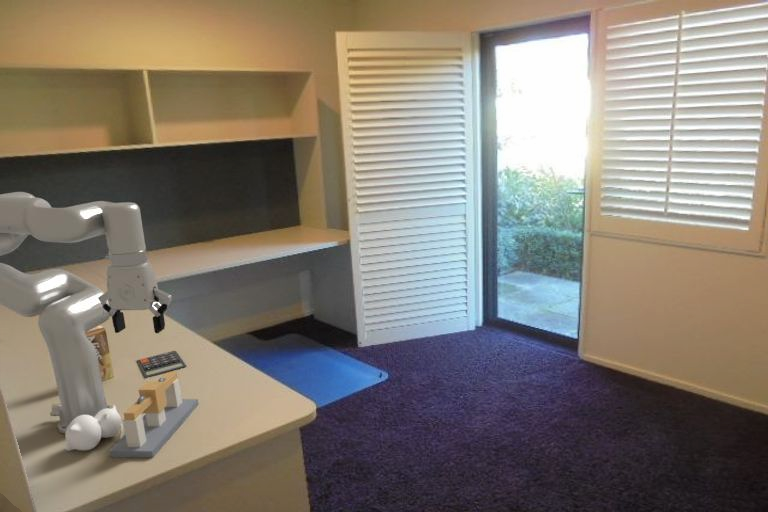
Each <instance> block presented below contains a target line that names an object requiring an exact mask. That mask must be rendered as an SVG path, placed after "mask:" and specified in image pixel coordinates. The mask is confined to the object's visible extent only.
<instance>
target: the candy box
mask: <svg viewBox="0 0 768 512" xmlns="http://www.w3.org/2000/svg"><path fill="white" fill-rule="evenodd" d="M85 335H86V337H87V338H88V340H89V341H90V342H91V343H92V344H93V345H94V347H95V349H96V353H97V357H98V362H99V367H100V373H101V378H102V382H103V381H106V380H109V379H112V378H115V373H114V368H113V362H112V358H111V350H110V346H109V340H108V336H107V335H108V334H107V329H106V328H105V326H102V325H99V326H97V327H95V328H93V329H91V330H89V331H87V332H86V333H85Z"/></svg>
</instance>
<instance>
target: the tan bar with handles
mask: <svg viewBox="0 0 768 512" xmlns="http://www.w3.org/2000/svg"><path fill="white" fill-rule="evenodd" d="M178 377H179V376H178V372H177V371H171V372H167V373H165V374H164V375H163V376H162V377H160V378H158V381H147V382H145V384H143V385H142V386H141V387H140V388H139V389H138V392H139V393H138V395H139V397H138V399H137V400H135V402H134V403H133V404H132V405H130V406H129V408H128V409H126V410H125V411H124V412H123V416H124V417H123V418H124V419H125V420H135V419H136V418H137V417H138V416H140V415H143V414H146V413H160V412H161V411H162V410H163V409H164V408H165V407H166V406H167V400H166V394H165V391H166V389H167V388H168V387H169V386H170V385H171V384H172V383H173V382H174V381H175V380H176V379H179V378H178ZM124 419H123V420H124Z"/></svg>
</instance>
